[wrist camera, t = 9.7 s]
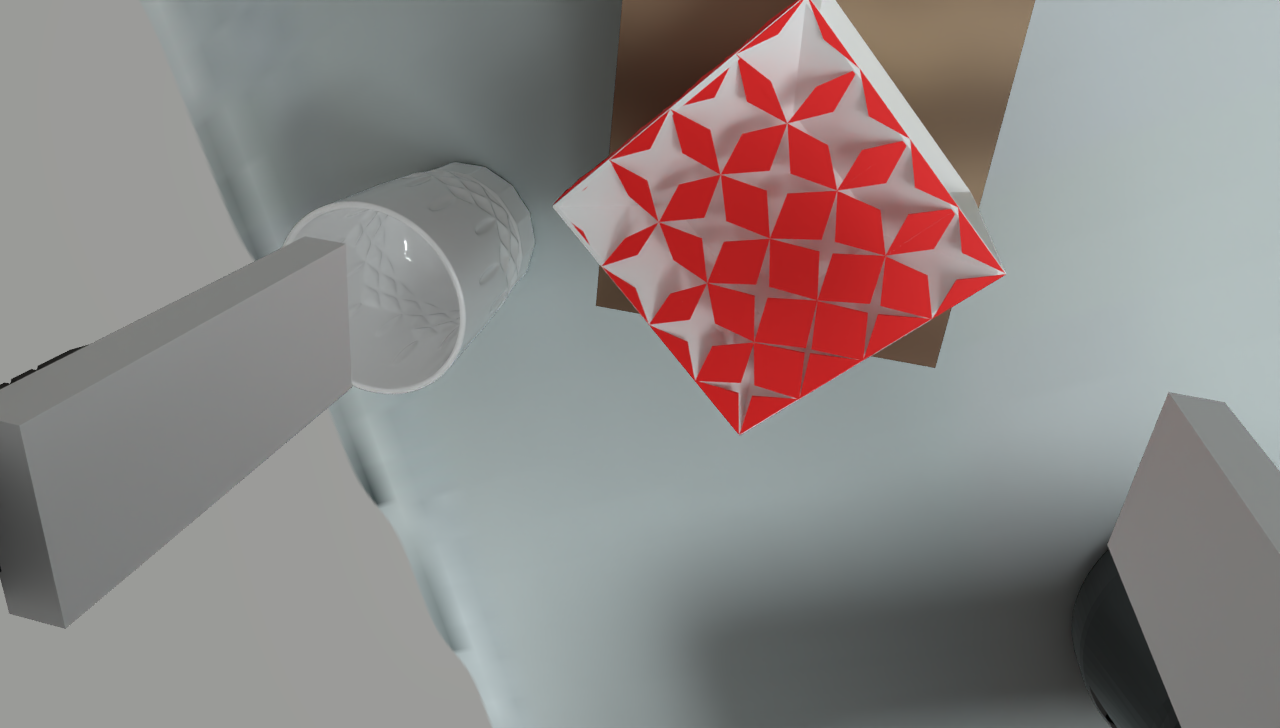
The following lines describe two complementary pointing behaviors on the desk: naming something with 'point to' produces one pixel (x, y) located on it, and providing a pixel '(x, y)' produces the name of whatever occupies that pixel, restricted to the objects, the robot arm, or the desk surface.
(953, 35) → the walnut pedestal
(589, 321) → the desk surface
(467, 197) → the white cup
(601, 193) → the red white patterned cube
